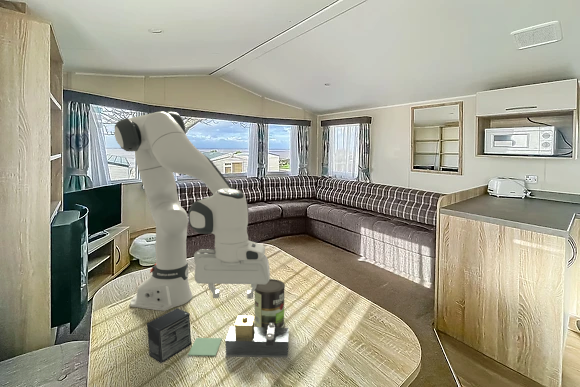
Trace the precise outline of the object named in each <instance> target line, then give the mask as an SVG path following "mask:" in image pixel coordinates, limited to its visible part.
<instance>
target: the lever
mask: <svg viewBox="0 0 580 387" xmlns="http://www.w3.org/2000/svg"><path fill="white" fill-rule="evenodd" d="M274 335H275V325H274V323H273V322H271V323H269V325H268V330H267V335H266V346H273V345H274Z"/></svg>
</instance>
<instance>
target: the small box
mask: <svg viewBox="0 0 580 387" xmlns="http://www.w3.org/2000/svg"><path fill="white" fill-rule="evenodd" d="M190 322H191V319H190V313H189V312H188V311H185V310H182V309H180V308H178V307H176V308H174V309H173V310H171V311H168V312H167V313H164V314H162V315H161V316H158V317H156V318H155V319H154V318H153V319H152V320H150V321H148V322H147V323H146V330H147V341H148V343H147V344H148V356H149V357H150V358H152V359H153V360H155V361H156V362H158V363H159V364H163V363H165V362H166V361H169V360H170V359H171V358H173V357H174V356H177V355H178V354H179V353H180V352H183V351H184V350H186V349H188V348H189V347H190V346H192V345H193V343H192V334H191V323H190Z"/></svg>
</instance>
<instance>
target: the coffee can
mask: <svg viewBox="0 0 580 387" xmlns="http://www.w3.org/2000/svg"><path fill="white" fill-rule="evenodd" d="M285 288H286V286H285V283H284V282H283V281H282V280H279V279H273V278H270V279H269V282H268V283H267V284H257V287H256V289H255V291H254V327H268V325H269V323H271V322H273V323H274V325H275V327H279V328H284V327H285Z"/></svg>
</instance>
